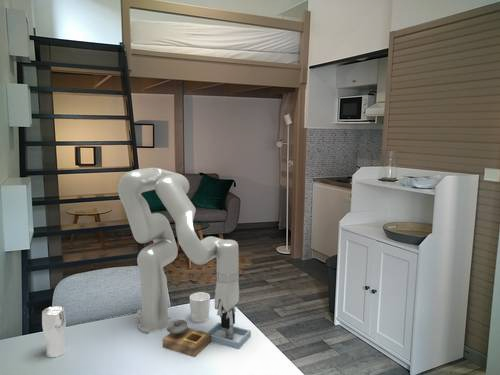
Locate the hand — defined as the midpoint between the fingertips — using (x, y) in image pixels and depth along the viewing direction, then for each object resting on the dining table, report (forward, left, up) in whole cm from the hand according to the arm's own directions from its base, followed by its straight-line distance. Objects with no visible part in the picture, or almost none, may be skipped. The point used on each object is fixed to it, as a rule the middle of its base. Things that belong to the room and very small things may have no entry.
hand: (228, 325), depth 137 cm
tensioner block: (-11, -10, -6) cm, 16 cm away
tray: (0, 0, -6) cm, 6 cm away
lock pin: (+1, 0, -4) cm, 4 cm away
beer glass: (-48, -32, -6) cm, 58 cm away
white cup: (-17, +8, -6) cm, 20 cm away
